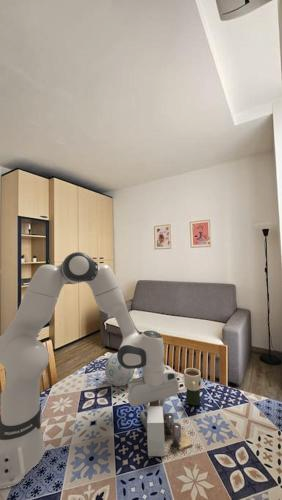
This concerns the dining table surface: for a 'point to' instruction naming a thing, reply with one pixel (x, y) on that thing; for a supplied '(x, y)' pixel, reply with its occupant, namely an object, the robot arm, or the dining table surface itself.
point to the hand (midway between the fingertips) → (154, 410)
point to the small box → (155, 431)
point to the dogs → (176, 433)
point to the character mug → (192, 385)
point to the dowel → (154, 403)
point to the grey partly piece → (144, 418)
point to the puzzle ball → (117, 372)
